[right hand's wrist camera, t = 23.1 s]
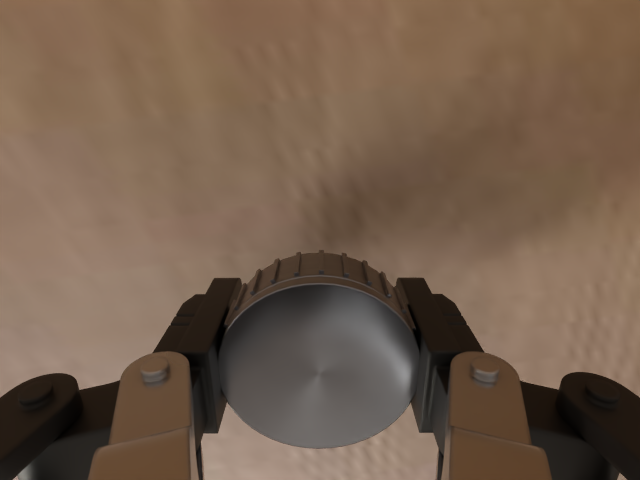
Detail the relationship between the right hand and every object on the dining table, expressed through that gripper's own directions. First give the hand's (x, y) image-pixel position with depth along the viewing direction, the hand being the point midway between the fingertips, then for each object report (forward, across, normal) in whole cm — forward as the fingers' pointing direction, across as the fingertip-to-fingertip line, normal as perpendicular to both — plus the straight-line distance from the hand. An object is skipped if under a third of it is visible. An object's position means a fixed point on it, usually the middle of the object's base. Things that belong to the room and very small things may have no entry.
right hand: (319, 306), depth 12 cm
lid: (-3, 0, 0) cm, 3 cm away
